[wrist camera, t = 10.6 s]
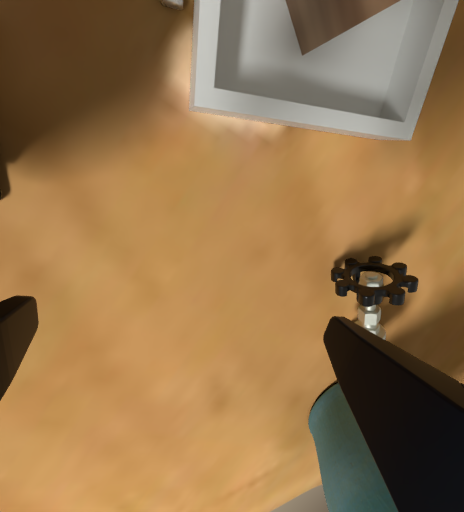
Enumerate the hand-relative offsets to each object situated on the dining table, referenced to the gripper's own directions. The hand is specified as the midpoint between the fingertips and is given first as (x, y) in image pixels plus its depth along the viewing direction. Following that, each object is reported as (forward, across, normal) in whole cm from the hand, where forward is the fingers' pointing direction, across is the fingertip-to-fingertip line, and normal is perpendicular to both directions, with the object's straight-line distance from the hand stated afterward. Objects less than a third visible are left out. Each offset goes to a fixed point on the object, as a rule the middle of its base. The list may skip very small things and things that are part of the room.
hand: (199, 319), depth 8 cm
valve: (+14, -18, +8) cm, 24 cm away
